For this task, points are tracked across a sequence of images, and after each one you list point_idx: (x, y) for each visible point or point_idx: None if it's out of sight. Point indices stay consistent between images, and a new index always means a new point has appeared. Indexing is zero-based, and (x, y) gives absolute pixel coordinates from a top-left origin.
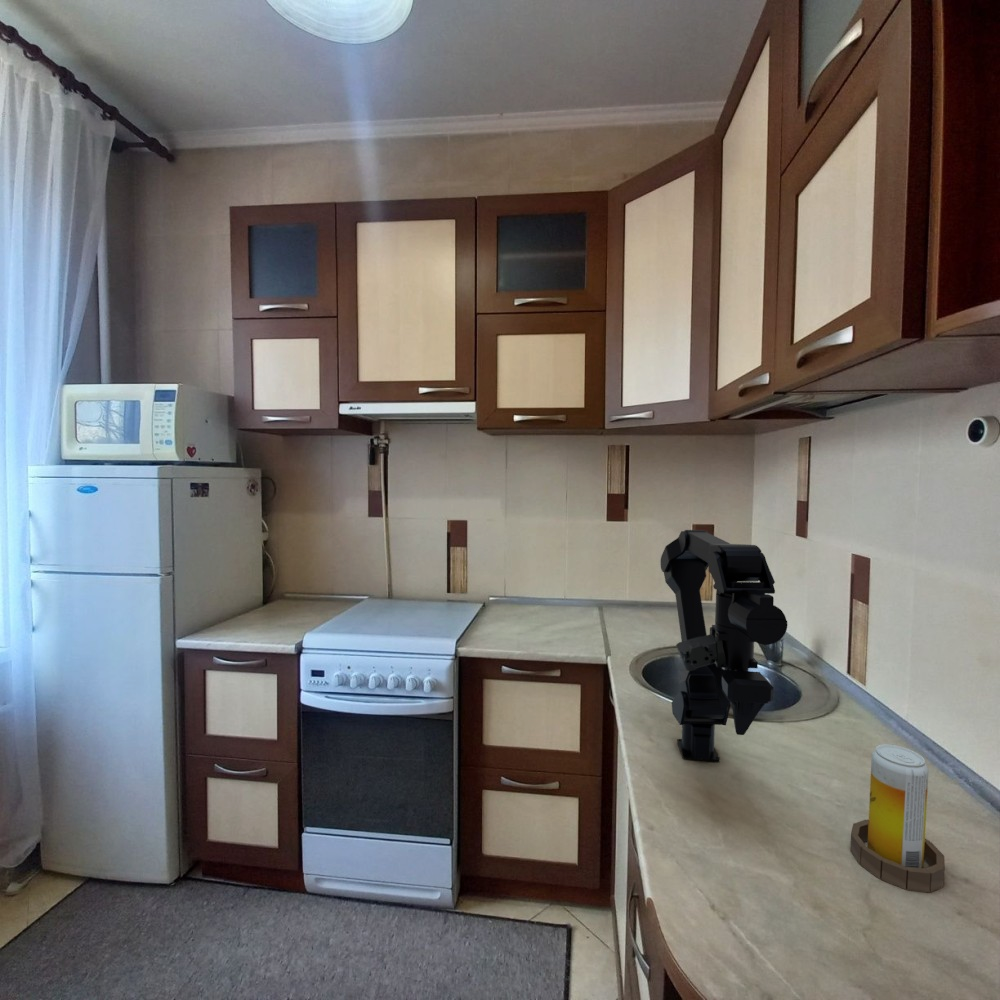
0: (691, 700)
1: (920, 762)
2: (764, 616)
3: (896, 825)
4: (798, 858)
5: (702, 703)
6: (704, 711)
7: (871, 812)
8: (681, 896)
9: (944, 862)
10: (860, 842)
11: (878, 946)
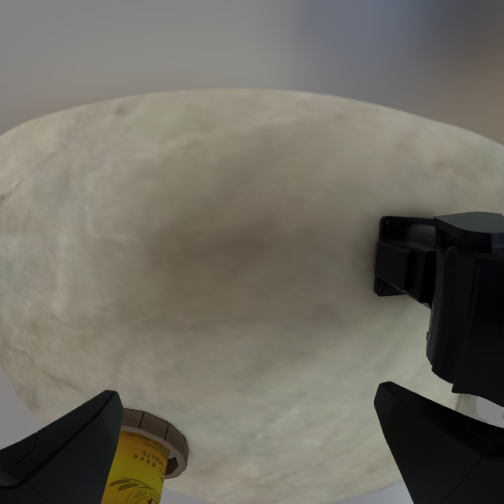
0: (472, 263)
1: None
2: None
3: None
4: (102, 344)
5: (459, 302)
6: (439, 300)
7: (123, 467)
8: (9, 159)
9: None
10: (123, 428)
11: (17, 356)
